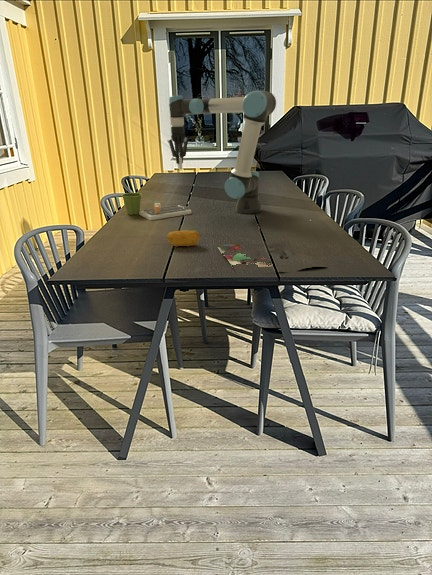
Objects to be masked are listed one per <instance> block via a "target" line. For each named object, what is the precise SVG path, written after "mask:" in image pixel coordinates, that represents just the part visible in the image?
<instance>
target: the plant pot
mask: <svg viewBox="0 0 432 575" xmlns="http://www.w3.org/2000/svg"><path fill="white" fill-rule="evenodd" d="M142 195H143V194H142V193H140V192H127V193H123V194H121V195H120V196H121V197H122V199H123V202H124V206H125V210H126V214H127V215H129V216H133V215H135V216H136V215H139V211H141V201H142Z"/></svg>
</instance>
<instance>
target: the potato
mask: <svg viewBox="0 0 432 575" xmlns="http://www.w3.org/2000/svg"><path fill="white" fill-rule="evenodd" d="M166 239H167V242H168V243H169V244H171V245H172V246H174V247H178V246H187V247H191V246H195V245H197V243H198V242H199V240H200V234H199V232H198V231H196V230H183V229H182V230H173V231H170V232H168V233H167V235H166Z"/></svg>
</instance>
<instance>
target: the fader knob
mask: <svg viewBox="0 0 432 575" xmlns="http://www.w3.org/2000/svg"><path fill="white" fill-rule="evenodd" d="M153 209H154V213H160V206H155V205H153Z"/></svg>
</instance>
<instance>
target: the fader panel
mask: <svg viewBox="0 0 432 575" xmlns="http://www.w3.org/2000/svg"><path fill="white" fill-rule="evenodd" d="M154 206H160V213H154V208H149V209H148V208H147V209H143V210H140V211H139V214H138V215H140V216H141V217H143V218H144V219H147V220H148V221H154V220H160V219H167V218H172V217H178V216H185V215H190V214H192V210H191V209H190V208H189V206H186V205H185V206H182V205H180V204H176V205H175V204H174V205H168V206H162V207H161V203H160V202H154Z"/></svg>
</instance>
